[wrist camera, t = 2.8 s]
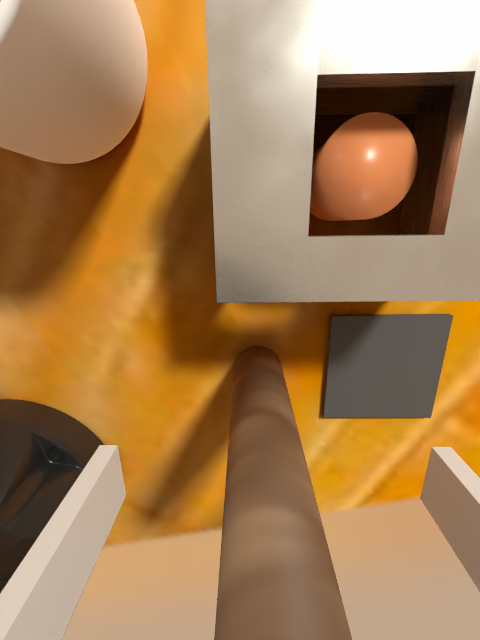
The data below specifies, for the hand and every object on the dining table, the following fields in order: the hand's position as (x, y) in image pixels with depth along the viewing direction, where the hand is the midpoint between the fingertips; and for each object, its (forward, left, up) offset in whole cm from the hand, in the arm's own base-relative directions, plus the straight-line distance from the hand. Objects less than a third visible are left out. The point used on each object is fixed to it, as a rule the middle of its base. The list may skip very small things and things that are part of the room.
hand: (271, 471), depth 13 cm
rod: (0, 0, -9) cm, 9 cm away
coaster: (+9, 0, -9) cm, 13 cm away
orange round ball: (+4, +12, -7) cm, 15 cm away
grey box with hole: (+4, +12, -9) cm, 16 cm away
